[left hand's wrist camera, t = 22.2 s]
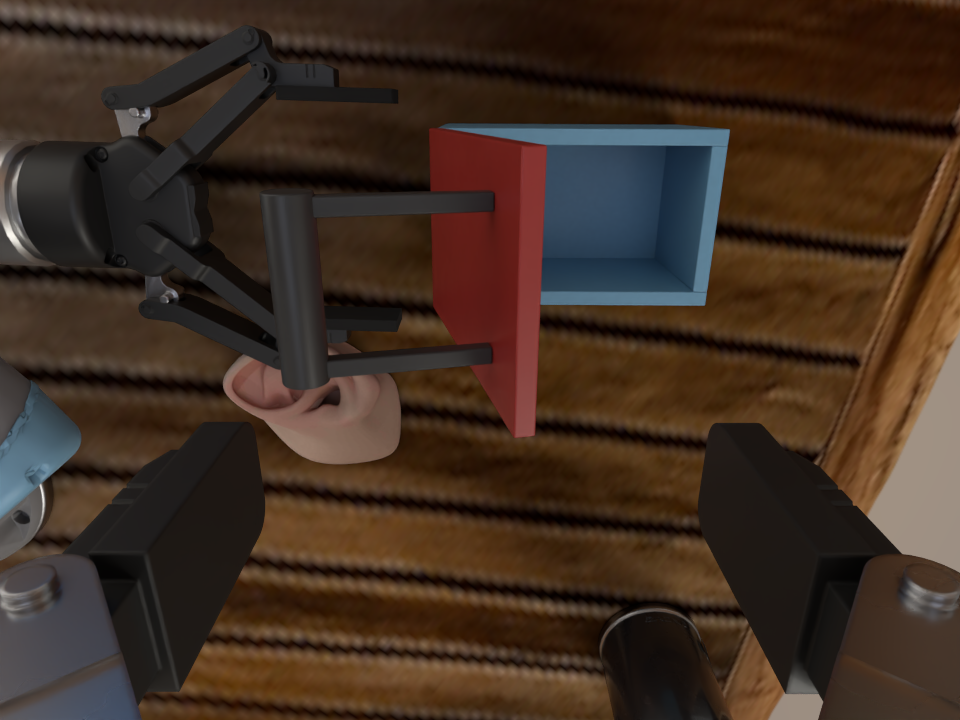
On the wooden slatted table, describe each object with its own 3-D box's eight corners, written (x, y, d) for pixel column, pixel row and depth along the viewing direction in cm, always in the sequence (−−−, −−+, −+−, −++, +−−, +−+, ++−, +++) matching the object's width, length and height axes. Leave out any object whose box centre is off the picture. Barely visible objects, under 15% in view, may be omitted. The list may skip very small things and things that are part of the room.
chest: (677, 124, 43) (730, 129, 34) (661, 267, 47) (705, 305, 38) (446, 123, 43) (437, 127, 34) (448, 266, 47) (440, 304, 38)
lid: (548, 144, 19) (243, 147, 17) (535, 436, 23) (283, 466, 21) (444, 127, 34) (274, 128, 32) (446, 306, 38) (295, 316, 36)
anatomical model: (421, 466, 48) (289, 514, 50) (425, 440, 52) (302, 486, 54) (340, 312, 44) (198, 372, 46) (351, 296, 48) (219, 352, 49)
